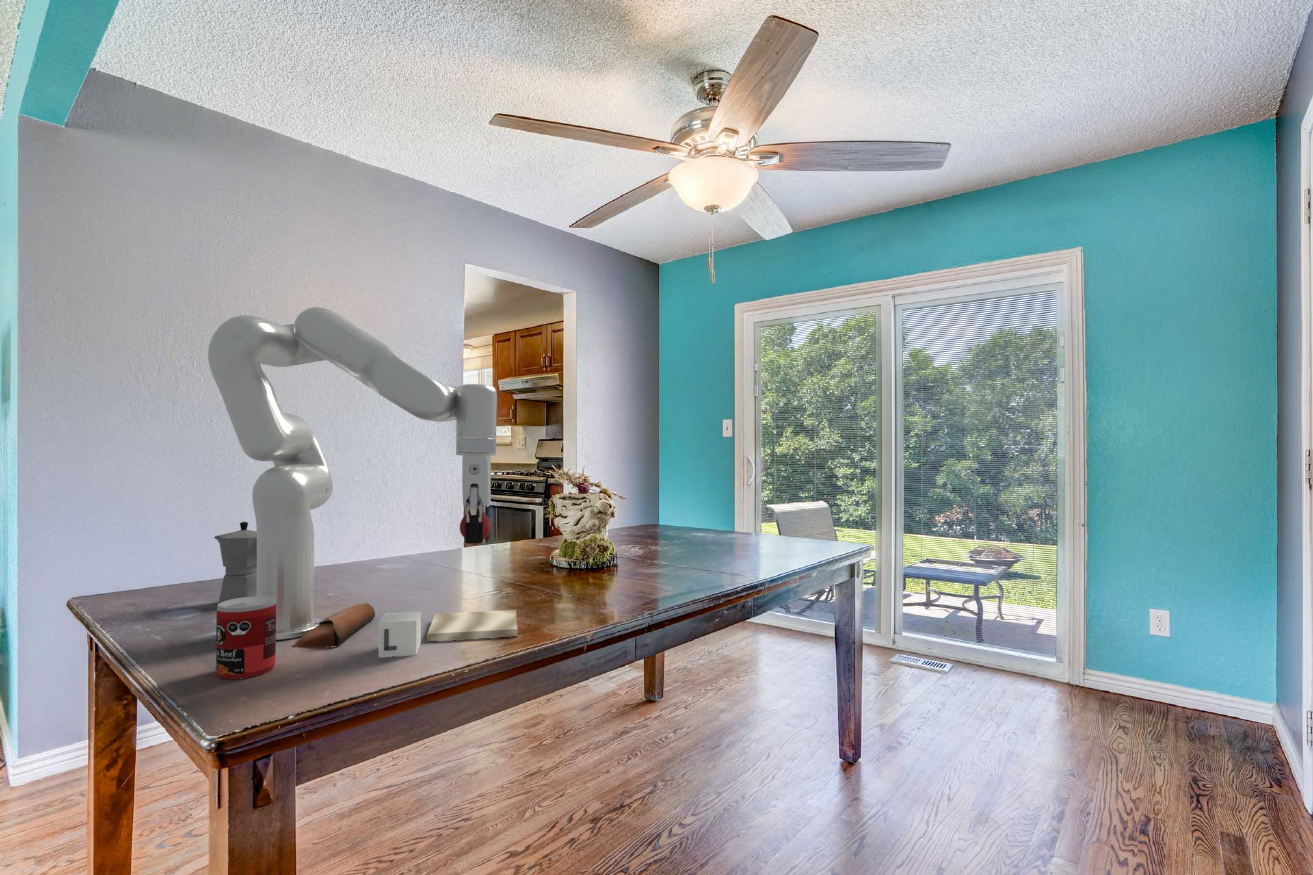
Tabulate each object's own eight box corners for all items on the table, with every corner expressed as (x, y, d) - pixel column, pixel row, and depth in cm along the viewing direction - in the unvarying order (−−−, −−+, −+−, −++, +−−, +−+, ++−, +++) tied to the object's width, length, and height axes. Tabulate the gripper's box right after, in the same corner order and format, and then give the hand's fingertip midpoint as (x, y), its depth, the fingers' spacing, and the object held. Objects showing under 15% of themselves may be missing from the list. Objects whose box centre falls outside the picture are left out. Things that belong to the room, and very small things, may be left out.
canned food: (206, 673, 102) (207, 603, 102) (261, 659, 109) (261, 593, 109) (229, 684, 98) (230, 610, 98) (284, 669, 104) (285, 600, 104)
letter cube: (378, 658, 110) (378, 622, 110) (384, 646, 116) (385, 613, 116) (416, 655, 112) (416, 620, 112) (420, 644, 118) (420, 611, 118)
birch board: (427, 642, 119) (427, 633, 119) (435, 621, 132) (435, 613, 132) (517, 637, 122) (517, 629, 122) (516, 617, 136) (516, 609, 136)
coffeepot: (198, 607, 141) (199, 524, 141) (229, 597, 150) (230, 518, 150) (267, 609, 140) (268, 525, 140) (294, 598, 150) (295, 519, 150)
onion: (495, 544, 130) (496, 503, 130) (482, 548, 124) (482, 506, 124) (468, 542, 131) (469, 502, 131) (453, 547, 125) (454, 505, 125)
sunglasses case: (332, 619, 132) (350, 591, 133) (362, 636, 133) (380, 608, 133) (289, 648, 115) (310, 615, 115) (325, 668, 115) (345, 635, 115)
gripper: (495, 448, 120) (493, 547, 120) (496, 447, 137) (495, 533, 137) (452, 448, 118) (450, 548, 118) (459, 447, 135) (457, 534, 135)
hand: (474, 539), depth 127 cm, fingers closed on onion, 5 cm apart
